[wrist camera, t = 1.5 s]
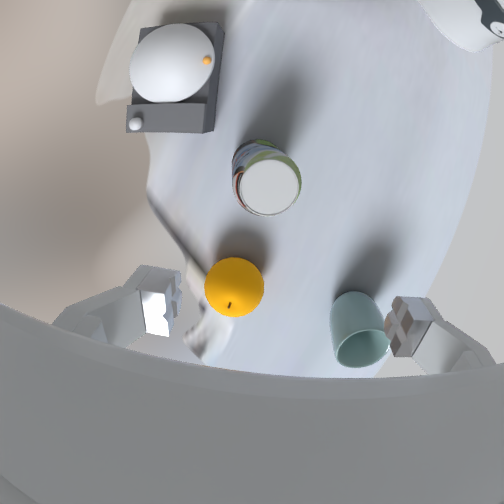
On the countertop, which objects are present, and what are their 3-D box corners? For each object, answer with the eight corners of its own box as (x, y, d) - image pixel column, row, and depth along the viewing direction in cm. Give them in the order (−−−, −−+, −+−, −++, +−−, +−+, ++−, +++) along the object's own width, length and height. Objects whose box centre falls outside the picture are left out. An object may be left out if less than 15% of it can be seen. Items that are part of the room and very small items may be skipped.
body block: (153, 37, 25) (131, 25, 20) (227, 33, 25) (216, 16, 19) (144, 129, 31) (120, 133, 26) (216, 131, 31) (203, 134, 26)
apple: (274, 264, 39) (274, 296, 32) (250, 303, 42) (245, 337, 36) (222, 239, 38) (211, 268, 31) (202, 282, 41) (189, 313, 35)
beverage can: (233, 139, 31) (210, 150, 21) (294, 139, 31) (304, 150, 20) (234, 188, 34) (215, 223, 24) (293, 188, 34) (302, 224, 23)
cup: (335, 279, 39) (348, 325, 30) (380, 287, 39) (401, 331, 30) (319, 319, 43) (326, 366, 34) (362, 324, 43) (376, 369, 34)
